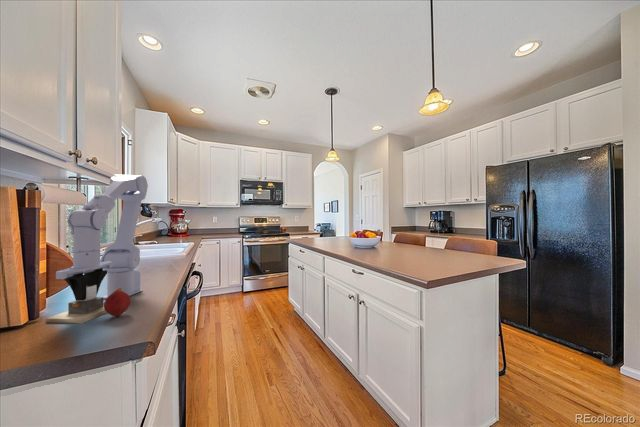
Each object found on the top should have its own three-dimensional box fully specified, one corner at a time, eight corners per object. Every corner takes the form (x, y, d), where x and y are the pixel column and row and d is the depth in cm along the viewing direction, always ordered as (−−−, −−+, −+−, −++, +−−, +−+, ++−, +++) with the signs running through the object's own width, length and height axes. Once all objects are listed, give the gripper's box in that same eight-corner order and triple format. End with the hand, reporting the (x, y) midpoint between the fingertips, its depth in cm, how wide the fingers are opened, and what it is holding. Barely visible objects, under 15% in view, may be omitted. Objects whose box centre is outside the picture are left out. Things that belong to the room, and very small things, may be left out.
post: (86, 307, 73) (86, 284, 73) (96, 307, 73) (96, 284, 73) (76, 311, 70) (76, 287, 70) (86, 311, 70) (86, 287, 70)
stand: (90, 305, 78) (90, 293, 78) (120, 306, 77) (120, 293, 77) (46, 322, 66) (46, 307, 66) (81, 323, 65) (82, 308, 65)
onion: (115, 321, 66) (115, 292, 66) (98, 319, 67) (98, 290, 67) (135, 313, 72) (135, 285, 72) (119, 311, 73) (119, 284, 73)
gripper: (97, 247, 79) (97, 289, 79) (45, 254, 65) (44, 306, 64) (118, 247, 79) (118, 290, 79) (70, 255, 64) (70, 307, 64)
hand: (86, 297), depth 71 cm, fingers closed on post, 3 cm apart
